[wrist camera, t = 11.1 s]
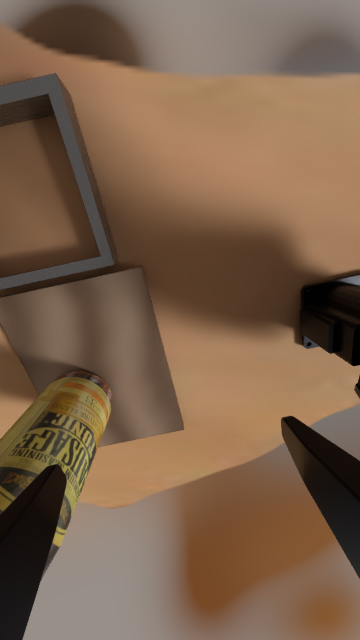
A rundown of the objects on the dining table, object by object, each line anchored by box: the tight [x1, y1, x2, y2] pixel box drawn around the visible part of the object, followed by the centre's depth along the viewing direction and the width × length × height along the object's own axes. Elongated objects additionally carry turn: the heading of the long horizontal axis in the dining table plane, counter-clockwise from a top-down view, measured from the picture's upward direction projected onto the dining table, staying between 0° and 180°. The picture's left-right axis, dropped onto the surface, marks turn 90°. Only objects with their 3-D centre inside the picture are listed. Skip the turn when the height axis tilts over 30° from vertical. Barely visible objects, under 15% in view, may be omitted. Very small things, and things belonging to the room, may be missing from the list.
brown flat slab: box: [0, 266, 184, 447], centre depth 21 cm, size 13×18×1 cm
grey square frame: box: [0, 73, 119, 290], centre depth 16 cm, size 11×11×2 cm
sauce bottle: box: [0, 371, 113, 579], centre depth 12 cm, size 7×6×20 cm
